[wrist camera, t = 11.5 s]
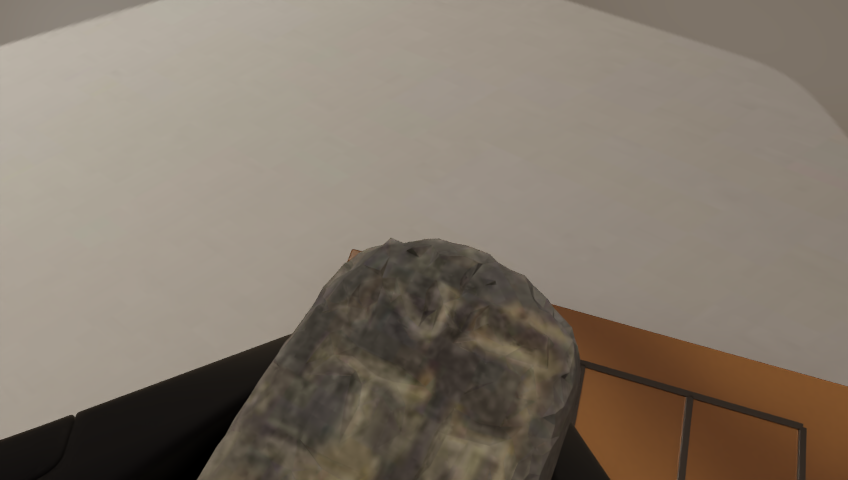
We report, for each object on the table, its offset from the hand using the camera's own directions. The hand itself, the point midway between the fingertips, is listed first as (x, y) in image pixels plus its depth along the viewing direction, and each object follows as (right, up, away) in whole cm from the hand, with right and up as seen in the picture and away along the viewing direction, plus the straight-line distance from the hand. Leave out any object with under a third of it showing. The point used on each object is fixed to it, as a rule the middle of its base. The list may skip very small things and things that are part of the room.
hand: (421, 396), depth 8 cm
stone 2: (0, -4, +6) cm, 7 cm away
